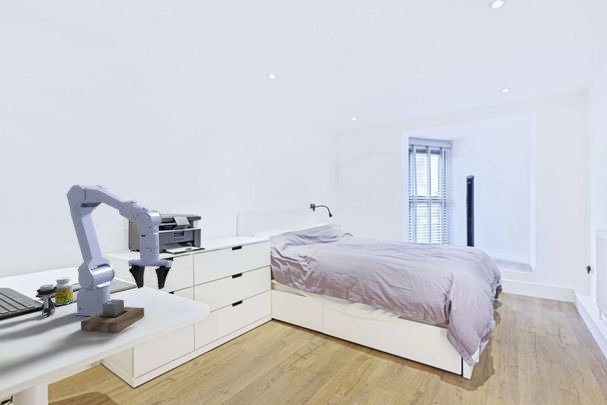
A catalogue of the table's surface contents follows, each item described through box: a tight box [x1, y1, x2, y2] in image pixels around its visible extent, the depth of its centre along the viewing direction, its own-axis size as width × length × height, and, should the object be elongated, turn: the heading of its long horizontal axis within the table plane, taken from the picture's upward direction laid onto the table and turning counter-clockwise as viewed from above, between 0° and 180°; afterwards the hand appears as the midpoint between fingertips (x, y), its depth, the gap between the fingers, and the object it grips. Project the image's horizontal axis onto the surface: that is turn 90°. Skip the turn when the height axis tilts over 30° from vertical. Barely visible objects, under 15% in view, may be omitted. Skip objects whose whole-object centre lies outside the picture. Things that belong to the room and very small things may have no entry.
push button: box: [36, 283, 57, 319], centre depth 105 cm, size 7×5×10 cm
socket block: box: [80, 306, 145, 334], centre depth 97 cm, size 12×12×3 cm
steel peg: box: [103, 299, 125, 318], centre depth 97 cm, size 4×4×7 cm
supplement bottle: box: [54, 276, 74, 305], centre depth 116 cm, size 5×5×10 cm
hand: (150, 288), depth 103 cm, fingers open, 7 cm apart
